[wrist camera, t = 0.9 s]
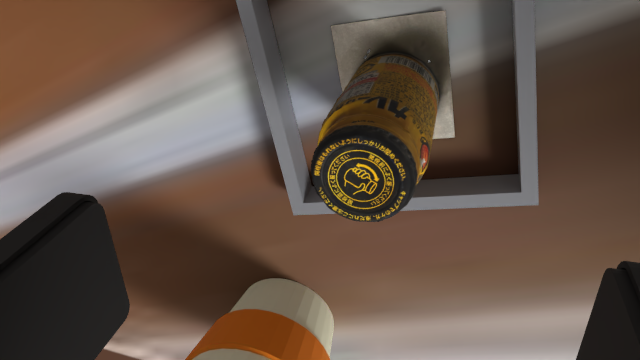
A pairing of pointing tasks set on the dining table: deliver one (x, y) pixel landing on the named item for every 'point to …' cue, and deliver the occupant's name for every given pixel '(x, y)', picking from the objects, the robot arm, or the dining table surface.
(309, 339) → the reusable coffee cup
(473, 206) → the square frame
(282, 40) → the dining table surface
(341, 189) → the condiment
